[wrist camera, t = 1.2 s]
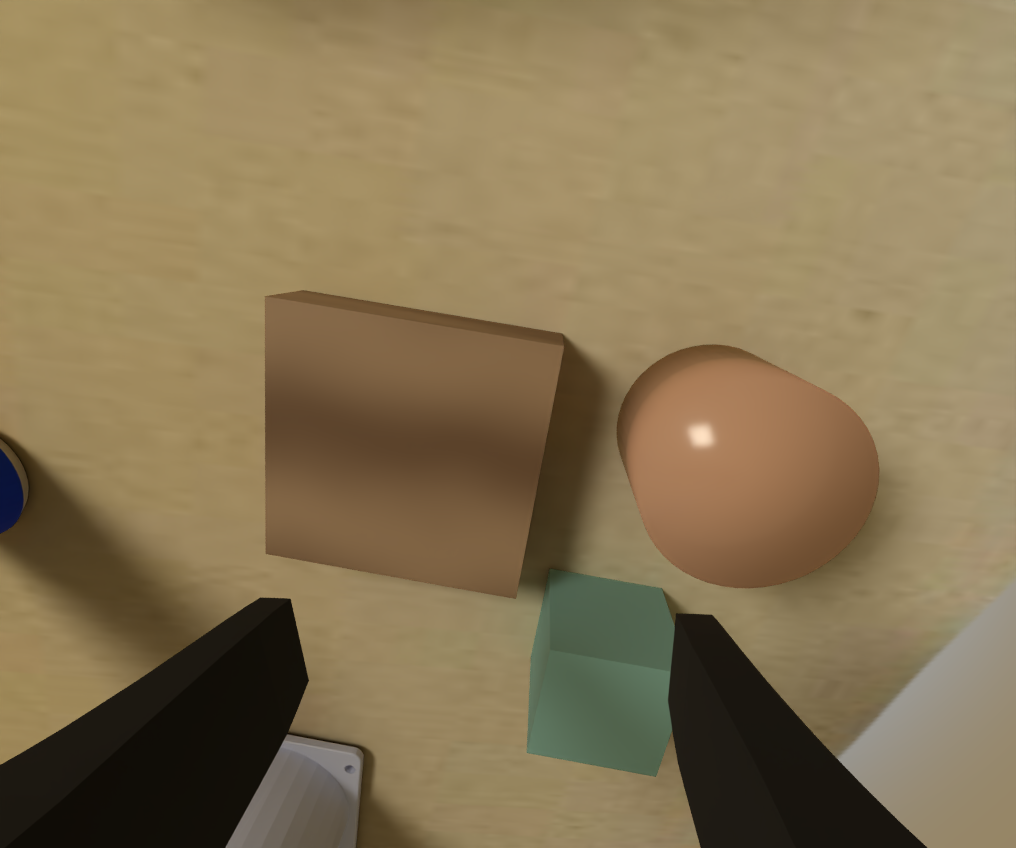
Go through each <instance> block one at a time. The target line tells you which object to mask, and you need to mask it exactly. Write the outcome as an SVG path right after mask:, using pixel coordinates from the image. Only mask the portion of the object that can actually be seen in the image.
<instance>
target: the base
mask: <svg viewBox="0 0 1016 848" xmlns="http://www.w3.org/2000/svg"><path fill="white" fill-rule="evenodd" d="M563 350H564V342H563V335H562V334H561V333H555V332H549V331H543V330H537V329H531V328H525V327H519V326H513V325H507V324H502V323H496V322H490V321H484V320H478V319H472V318H466V317H460V316H454V315H448V314H442V313H436V312H430V311H424V310H418V309H412V308H406V307H400V306H394V305H388V304H382V303H376V302H370V301H364V300H358V299H352V298H346V297H340V296H334V295H328V294H322V293H316V292H310V291H304V290H303V291H296V292H290V293H283V294H277V295H270V296H265V476H266V554H270V555H275V556H281V557H286V558H292V559H297V560H303V561H308V562H314V563H320V564H325V565H331V566H336V567H342V568H347V569H353V570H358V571H364V572H370V573H375V574H381V575H386V576H392V577H397V578H403V579H409V580H414V581H420V582H425V583H431V584H436V585H442V586H447V587H453V588H459V589H464V590H470V591H475V592H481V593H486V594H492V595H497V596H503V597H509V598H514V599H516V596H517V590H518V585H519V580H520V575H521V569H522V564H523V559H524V554H525V549H526V543H527V538H528V533H529V528H530V522H531V517H532V512H533V507H534V502H535V496H536V491H537V486H538V481H539V475H540V470H541V465H542V460H543V455H544V449H545V444H546V439H547V434H548V429H549V423H550V418H551V413H552V408H553V402H554V397H555V392H556V387H557V382H558V376H559V371H560V366H561V361H562V355H563Z"/></svg>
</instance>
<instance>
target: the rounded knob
mask: <svg viewBox="0 0 1016 848" xmlns="http://www.w3.org/2000/svg"><path fill="white" fill-rule="evenodd" d="M617 443H618V448H619V452H620V456H621V459H622V462H623V464H624V467H625V470H626V473H627V476H628V479H629V482H630V485H631V488H632V491H633V494H634V496H635V499H636V502H637V505H638V508H639V511H640V514H641V517H642V520H643V523H644V525H645V527H646V530H647V532H648V534H649V536H650V538H651V540H652V541H653V543H654V544H655V546H656V547H657V548H658V550H659V551H660V552H661V553H662V554H663V556H664V557H665V558H667V559H668V560H669V561H670V562H671V563H672V564H673V565H675V566H676V567H678V568H679V569H680V570H682V571H683V572H685V573H687V574H689V575H691V576H693V577H695V578H697V579H700V580H702V581H705V582H708V583H711V584H716V585H720V586H725V587H734V588H758V587H767V586H772V585H777V584H782V583H785V582H788V581H791V580H795V579H797V578H799V577H802V576H804V575H806V574H809V573H811V572H812V571H814V570H816V569H818V568H820V567H821V566H823V565H824V564H826V563H827V562H829V561H830V560H831V559H833V558H834V557H835V556H837V555H838V554H839V553H840V552H841V551H842V550H843V549H844V548H846V547H847V545H848V544H849V543H850V542H851V541H852V540H853V539H854V538H855V536H856V535H857V534H858V532H859V531H860V529H861V528H862V526H863V525H864V523H865V521H866V520H867V518H868V516H869V514H870V512H871V509H872V507H873V504H874V501H875V498H876V494H877V489H878V484H879V462H878V455H877V451H876V447H875V444H874V441H873V439H872V437H871V435H870V432H869V430H868V429H867V427H866V426H865V424H864V423H863V421H862V420H861V418H860V417H859V416H858V415H857V414H856V413H855V412H854V411H853V410H852V409H851V408H850V407H849V406H848V405H847V404H845V403H844V402H843V401H842V400H840V399H839V398H837V397H836V396H834V395H832V394H830V393H828V392H827V391H825V390H823V389H821V388H819V387H817V386H815V385H813V384H811V383H809V382H807V381H805V380H803V379H801V378H799V377H797V376H795V375H793V374H791V373H789V372H787V371H785V370H783V369H781V368H779V367H777V366H775V365H773V364H771V363H769V362H767V361H765V360H763V359H761V358H759V357H757V356H755V355H753V354H751V353H749V352H747V351H744V350H742V349H739V348H735V347H731V346H725V345H700V346H693V347H689V348H685V349H682V350H679V351H676V352H674V353H672V354H669V355H667V356H666V357H664V358H662V359H660V360H658V361H657V362H656V363H654V364H653V365H652V366H650V367H649V368H648V369H647V370H646V371H645V372H644V373H642V374H641V375H640V376H639V378H638V379H637V380H636V381H635V382H634V384H633V385H632V386H631V388H630V390H629V391H628V393H627V394H626V397H625V399H624V401H623V403H622V406H621V409H620V412H619V415H618V422H617Z"/></svg>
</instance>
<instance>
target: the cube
mask: <svg viewBox="0 0 1016 848" xmlns="http://www.w3.org/2000/svg"><path fill="white" fill-rule="evenodd" d="M674 631H675V626H674V623H673V620H672V617H671V614H670V611H669V608H668V605H667V602H666V599H665V596H664V593H663V590H662V588H656V587H651V586H645V585H639V584H634V583H628V582H622V581H617V580H611V579H606V578H600V577H594V576H589V575H583V574H578V573H572V572H566V571H561V570H555V569H550V570H549V575H548V579H547V584H546V589H545V593H544V598H543V603H542V608H541V612H540V617H539V622H538V626H537V631H536V636H535V640H534V645H533V650H532V654H531V667H530V690H529V714H528V737H527V753H530V754H536V755H541V756H547V757H552V758H557V759H563V760H568V761H574V762H579V763H584V764H590V765H595V766H601V767H606V768H611V769H617V770H622V771H628V772H633V773H638V774H644V775H649V776H655V777H656V775H657V773H658V770H659V767H660V764H661V761H662V758H663V755H664V752H665V749H666V747H667V744H668V741H669V738H670V735H671V732H672V724H671V718H670V712H669V705H668V693H669V682H670V672H671V662H672V651H673V641H674Z"/></svg>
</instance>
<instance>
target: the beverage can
mask: <svg viewBox="0 0 1016 848" xmlns="http://www.w3.org/2000/svg"><path fill="white" fill-rule="evenodd" d="M28 491H29V487H28V479H27V475H26V472H25V470H24V467H23V465H22V464H21V462H20V460H19V458H18V457H17V456H16V454H15V453H14V452H13V451H12V449H11V448H10V447H9V446H8V445H7V444H6V443H5V442H3V441H2V440H1V439H0V534H1V533H3V532H5V531H6V530H8V529H9V528H11V527H12V526H13V525H14V524H15V523H16V522H17V520H18V519H19V517H20V515H21V513H22V511H23V509H24V507H25V505H26V502H27V498H28Z"/></svg>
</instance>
